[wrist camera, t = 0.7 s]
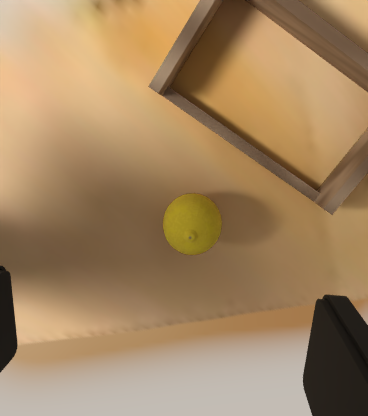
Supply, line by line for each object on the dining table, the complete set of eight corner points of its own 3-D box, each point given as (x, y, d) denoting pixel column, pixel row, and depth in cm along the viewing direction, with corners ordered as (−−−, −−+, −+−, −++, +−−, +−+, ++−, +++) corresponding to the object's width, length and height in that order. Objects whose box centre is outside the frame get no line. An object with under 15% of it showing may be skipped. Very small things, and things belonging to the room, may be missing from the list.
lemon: (180, 177, 34) (173, 194, 27) (229, 200, 35) (235, 223, 27) (159, 223, 36) (147, 252, 28) (206, 244, 36) (206, 278, 28)
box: (317, 204, 34) (332, 215, 30) (155, 90, 32) (148, 86, 28) (401, 102, 31) (429, 100, 27) (227, -29, 29) (231, -52, 26)
